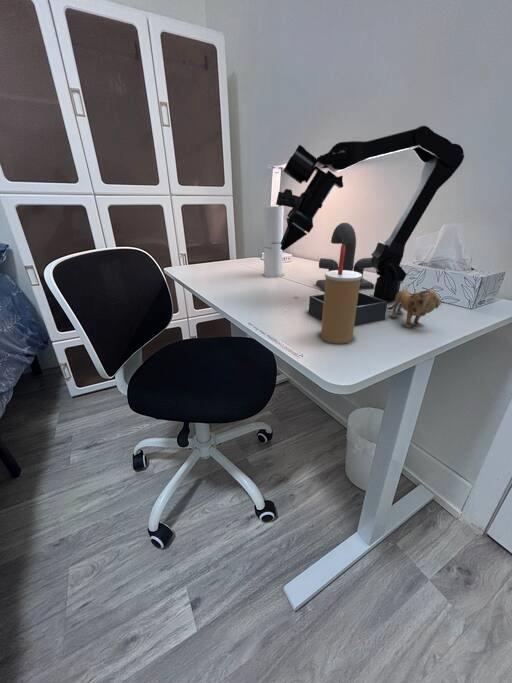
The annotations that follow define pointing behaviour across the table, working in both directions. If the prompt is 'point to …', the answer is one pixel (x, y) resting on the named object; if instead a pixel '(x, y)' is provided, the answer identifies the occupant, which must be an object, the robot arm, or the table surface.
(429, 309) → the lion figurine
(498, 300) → the table surface
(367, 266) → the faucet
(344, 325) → the takeaway cup
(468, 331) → the table surface
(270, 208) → the cylindrical container
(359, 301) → the bin
